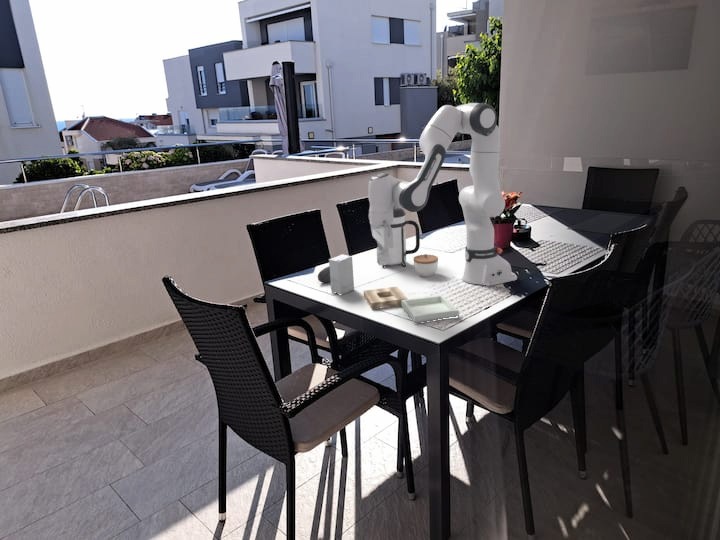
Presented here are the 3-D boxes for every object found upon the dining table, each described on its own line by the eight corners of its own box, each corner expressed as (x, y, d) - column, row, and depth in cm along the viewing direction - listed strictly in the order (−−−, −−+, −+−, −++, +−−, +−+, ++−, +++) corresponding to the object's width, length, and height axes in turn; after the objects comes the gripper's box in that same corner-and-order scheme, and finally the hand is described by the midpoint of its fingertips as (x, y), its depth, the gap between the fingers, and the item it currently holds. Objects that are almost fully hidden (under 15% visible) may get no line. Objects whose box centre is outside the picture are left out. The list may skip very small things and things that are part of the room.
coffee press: (394, 271, 224) (392, 207, 215) (372, 264, 236) (368, 203, 227) (421, 263, 234) (419, 200, 225) (398, 256, 246) (395, 197, 237)
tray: (442, 302, 186) (441, 294, 185) (458, 318, 171) (458, 310, 170) (401, 307, 183) (401, 300, 183) (414, 324, 168) (414, 316, 168)
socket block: (397, 292, 199) (397, 286, 198) (407, 304, 186) (407, 298, 185) (363, 296, 196) (363, 290, 196) (371, 309, 183) (371, 303, 183)
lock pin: (387, 261, 189) (386, 246, 187) (390, 264, 185) (389, 249, 183) (377, 262, 188) (376, 247, 186) (379, 265, 184) (379, 250, 182)
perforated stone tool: (321, 285, 212) (320, 270, 210) (315, 282, 216) (313, 267, 214) (349, 277, 220) (348, 262, 218) (342, 275, 225) (341, 260, 222)
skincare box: (344, 287, 209) (342, 253, 204) (355, 289, 205) (352, 255, 200) (330, 292, 203) (327, 258, 198) (340, 295, 199) (338, 260, 194)
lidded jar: (439, 271, 221) (439, 251, 219) (436, 278, 212) (436, 258, 209) (416, 270, 224) (415, 250, 221) (412, 278, 215) (411, 257, 212)
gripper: (397, 223, 172) (398, 260, 176) (383, 212, 191) (384, 246, 195) (380, 225, 171) (381, 262, 175) (367, 214, 190) (369, 248, 194)
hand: (383, 254), depth 185 cm, fingers closed on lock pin, 4 cm apart
